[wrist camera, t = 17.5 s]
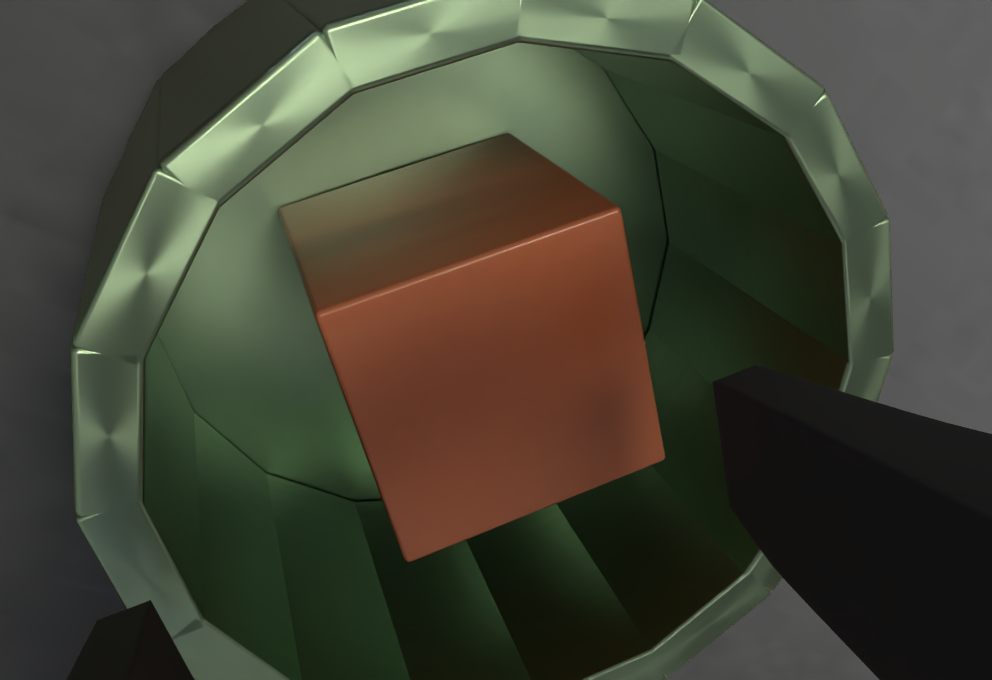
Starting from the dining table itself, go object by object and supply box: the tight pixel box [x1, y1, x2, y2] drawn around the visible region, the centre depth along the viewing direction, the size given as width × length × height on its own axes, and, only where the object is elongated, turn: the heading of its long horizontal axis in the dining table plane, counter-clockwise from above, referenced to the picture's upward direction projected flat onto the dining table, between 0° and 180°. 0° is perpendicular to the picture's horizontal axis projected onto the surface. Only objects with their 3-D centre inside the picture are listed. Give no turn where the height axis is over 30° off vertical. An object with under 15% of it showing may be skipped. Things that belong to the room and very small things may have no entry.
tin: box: [70, 0, 894, 680], centre depth 16 cm, size 12×12×6 cm
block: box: [278, 133, 665, 562], centre depth 16 cm, size 4×4×5 cm
